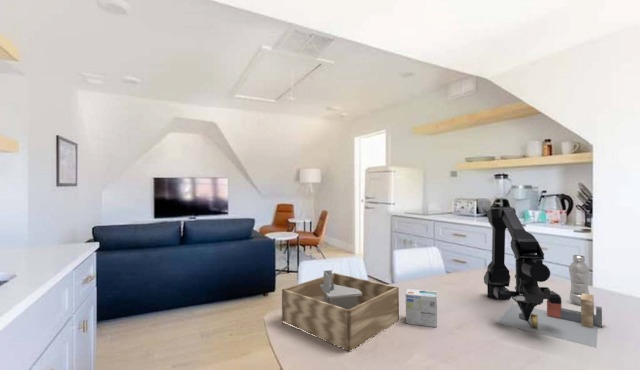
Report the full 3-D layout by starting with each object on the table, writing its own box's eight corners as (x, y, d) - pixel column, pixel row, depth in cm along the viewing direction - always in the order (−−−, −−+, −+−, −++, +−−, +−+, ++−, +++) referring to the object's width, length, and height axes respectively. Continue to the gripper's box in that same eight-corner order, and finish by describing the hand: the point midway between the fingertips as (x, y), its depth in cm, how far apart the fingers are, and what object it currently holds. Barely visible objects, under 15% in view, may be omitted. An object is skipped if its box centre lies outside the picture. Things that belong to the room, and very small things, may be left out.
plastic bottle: (594, 308, 123) (593, 258, 124) (575, 307, 125) (574, 257, 125) (584, 303, 130) (583, 254, 130) (565, 302, 131) (564, 254, 131)
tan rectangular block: (581, 325, 107) (580, 299, 107) (582, 318, 113) (582, 293, 113) (593, 328, 105) (592, 301, 105) (593, 320, 111) (593, 295, 111)
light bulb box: (437, 320, 115) (436, 290, 115) (437, 328, 108) (437, 296, 108) (406, 316, 118) (406, 287, 118) (405, 324, 112) (405, 293, 112)
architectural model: (317, 342, 100) (316, 286, 100) (303, 313, 123) (303, 267, 123) (383, 334, 105) (383, 280, 105) (358, 308, 128) (358, 264, 128)
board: (497, 325, 110) (497, 322, 110) (513, 305, 128) (513, 303, 128) (596, 350, 92) (596, 347, 92) (598, 323, 110) (598, 321, 110)
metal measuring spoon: (526, 327, 106) (526, 314, 106) (517, 314, 116) (517, 303, 117) (544, 329, 104) (543, 316, 104) (533, 316, 115) (532, 304, 115)
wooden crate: (282, 322, 114) (281, 289, 114) (334, 300, 135) (334, 272, 136) (349, 351, 93) (349, 311, 93) (398, 320, 115) (398, 287, 115)
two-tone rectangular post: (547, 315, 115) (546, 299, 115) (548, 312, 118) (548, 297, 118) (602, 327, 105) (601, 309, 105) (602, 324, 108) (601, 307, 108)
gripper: (503, 278, 101) (503, 327, 101) (570, 282, 97) (571, 333, 96) (492, 270, 112) (493, 314, 112) (552, 273, 108) (553, 320, 107)
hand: (526, 320), depth 106 cm, fingers closed
